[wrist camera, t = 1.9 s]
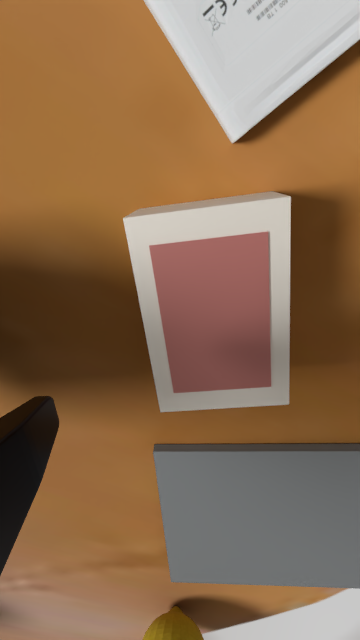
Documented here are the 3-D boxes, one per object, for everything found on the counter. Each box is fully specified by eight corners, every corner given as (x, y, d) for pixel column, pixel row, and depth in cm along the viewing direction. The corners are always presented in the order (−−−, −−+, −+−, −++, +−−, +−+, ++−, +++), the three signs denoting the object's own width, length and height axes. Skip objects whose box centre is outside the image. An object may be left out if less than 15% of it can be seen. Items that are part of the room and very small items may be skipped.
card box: (167, 370, 19) (160, 413, 16) (140, 208, 15) (122, 218, 12) (273, 362, 18) (289, 405, 15) (271, 190, 15) (291, 196, 11)
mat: (171, 573, 27) (171, 582, 26) (154, 444, 21) (153, 451, 20) (404, 580, 25) (409, 590, 24) (455, 443, 19) (462, 451, 19)
